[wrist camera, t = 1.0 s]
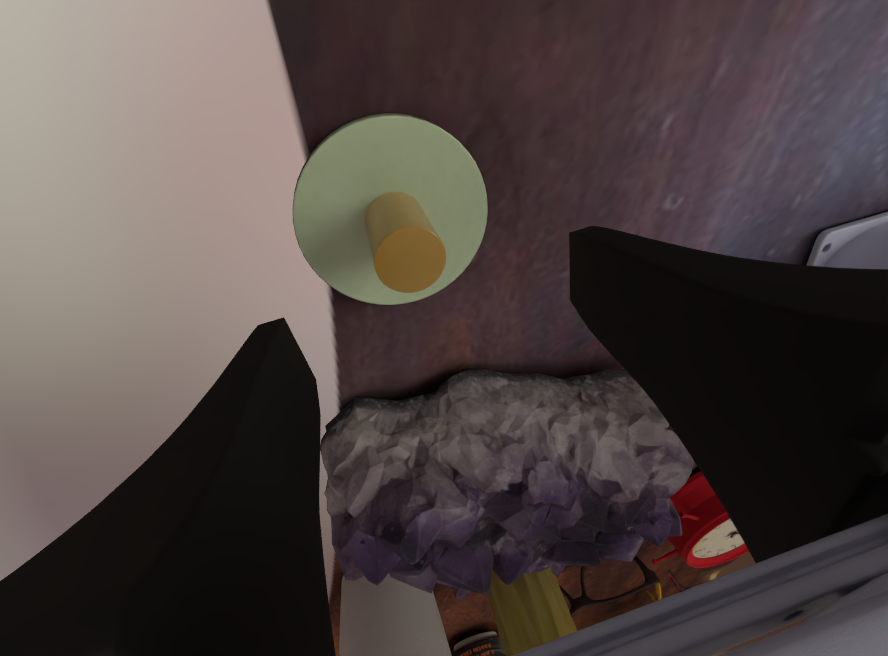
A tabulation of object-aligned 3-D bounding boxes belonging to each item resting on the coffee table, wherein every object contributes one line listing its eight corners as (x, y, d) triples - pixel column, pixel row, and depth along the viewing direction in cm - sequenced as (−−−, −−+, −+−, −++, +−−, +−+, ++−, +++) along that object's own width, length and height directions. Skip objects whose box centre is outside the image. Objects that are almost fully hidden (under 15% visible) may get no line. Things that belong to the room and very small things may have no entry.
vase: (475, 578, 38) (543, 814, 27) (471, 542, 35) (548, 797, 23) (540, 558, 39) (633, 779, 28) (543, 521, 35) (651, 757, 24)
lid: (488, 268, 21) (526, 321, 17) (330, 311, 20) (334, 377, 16) (467, 88, 16) (512, 109, 12) (260, 137, 15) (243, 174, 12)
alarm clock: (688, 512, 32) (887, 512, 33) (653, 445, 37) (825, 446, 38) (648, 581, 38) (816, 581, 39) (623, 515, 43) (771, 515, 44)
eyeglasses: (634, 535, 40) (661, 579, 37) (647, 588, 49) (670, 628, 46) (494, 598, 41) (509, 647, 38) (532, 640, 50) (547, 682, 47)
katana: (685, 604, 55) (682, 599, 56) (698, 598, 55) (694, 593, 55) (662, 572, 48) (658, 566, 48) (676, 565, 48) (672, 559, 48)
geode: (321, 511, 28) (315, 695, 19) (319, 353, 23) (308, 505, 14) (603, 484, 33) (699, 621, 24) (651, 349, 28) (794, 460, 19)
